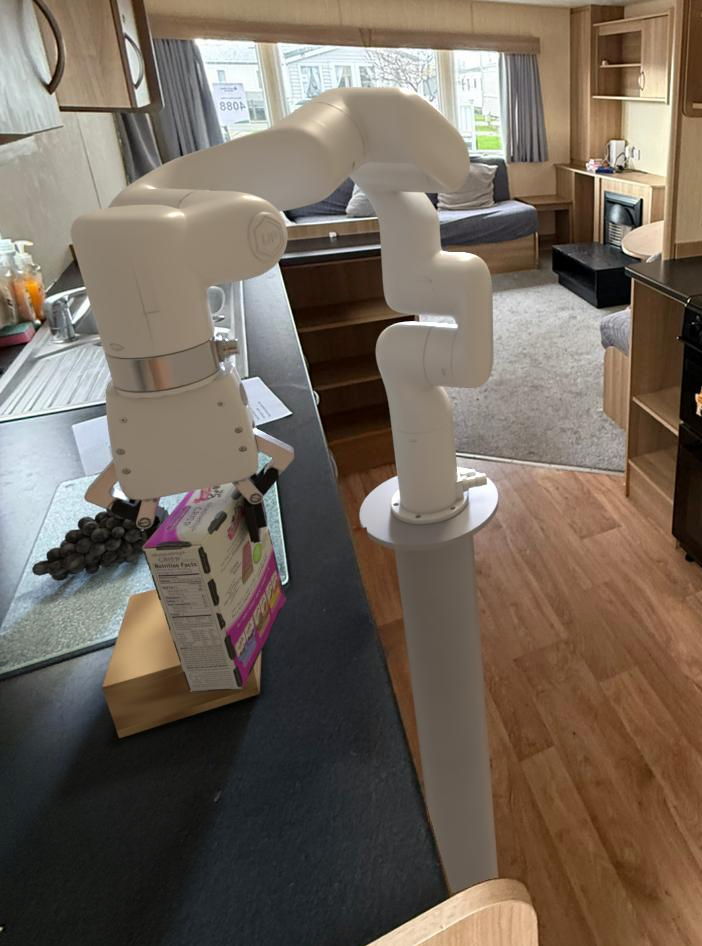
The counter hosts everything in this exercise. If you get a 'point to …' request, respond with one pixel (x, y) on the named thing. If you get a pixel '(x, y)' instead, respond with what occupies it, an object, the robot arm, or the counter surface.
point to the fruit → (94, 546)
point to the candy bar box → (215, 587)
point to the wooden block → (156, 673)
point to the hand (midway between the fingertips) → (213, 542)
